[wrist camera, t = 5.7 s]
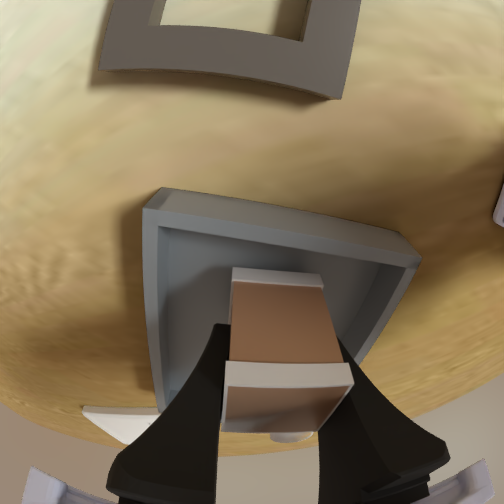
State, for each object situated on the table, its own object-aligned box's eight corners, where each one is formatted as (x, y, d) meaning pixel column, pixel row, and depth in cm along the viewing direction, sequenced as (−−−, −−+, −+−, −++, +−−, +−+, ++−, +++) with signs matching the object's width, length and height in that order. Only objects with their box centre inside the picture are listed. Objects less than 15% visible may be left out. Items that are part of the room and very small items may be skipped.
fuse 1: (319, 273, 12) (354, 383, 7) (301, 332, 14) (317, 431, 9) (232, 266, 11) (224, 383, 7) (227, 328, 13) (221, 431, 9)
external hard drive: (85, 401, 23) (178, 401, 21) (128, 435, 27) (217, 436, 25) (80, 413, 21) (175, 417, 19) (126, 445, 25) (216, 449, 23)
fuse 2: (310, 376, 17) (319, 427, 14) (298, 395, 18) (304, 442, 15) (272, 374, 17) (276, 428, 13) (264, 393, 18) (266, 442, 15)
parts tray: (399, 232, 12) (422, 257, 10) (306, 401, 20) (309, 426, 18) (161, 187, 11) (142, 207, 9) (164, 386, 19) (158, 412, 17)
